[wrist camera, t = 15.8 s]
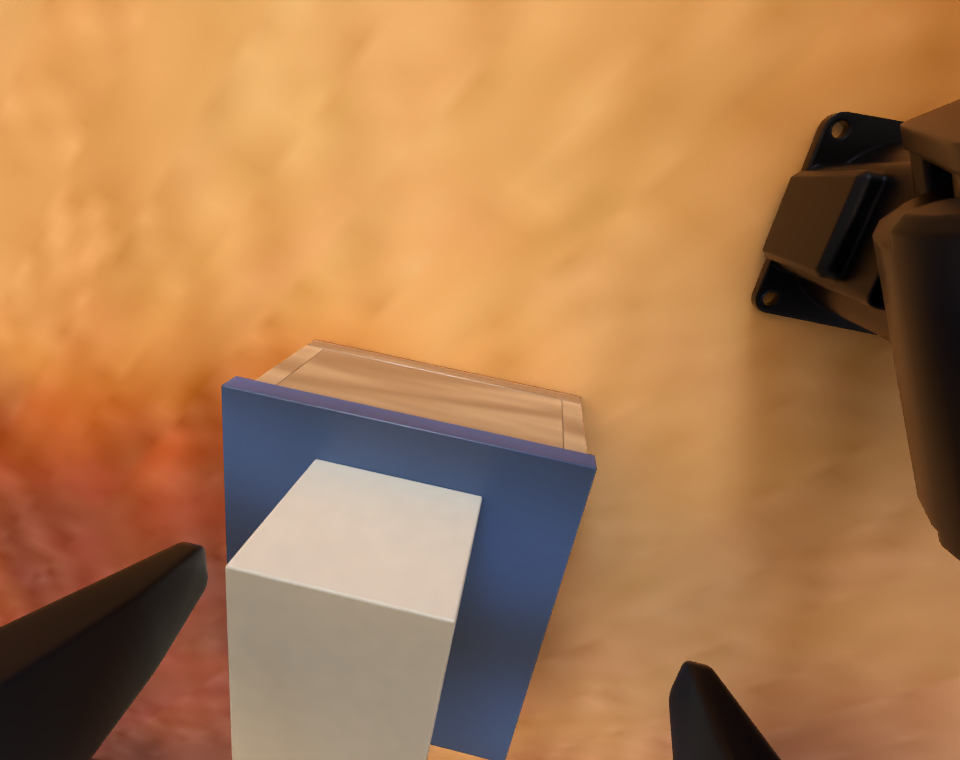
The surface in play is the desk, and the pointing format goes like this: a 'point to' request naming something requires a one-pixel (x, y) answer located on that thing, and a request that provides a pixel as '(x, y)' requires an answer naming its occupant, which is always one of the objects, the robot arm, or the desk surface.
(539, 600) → the blue lid
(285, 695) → the case
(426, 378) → the storage box
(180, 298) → the desk surface
